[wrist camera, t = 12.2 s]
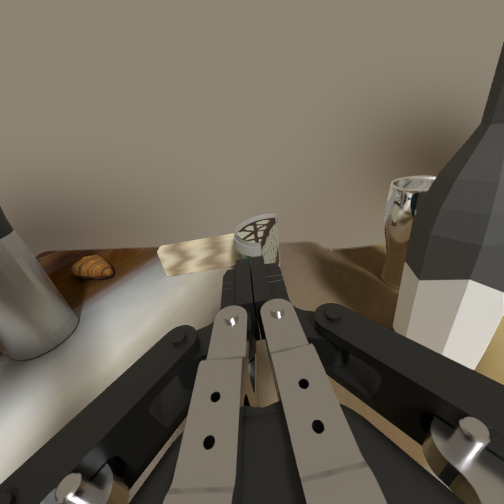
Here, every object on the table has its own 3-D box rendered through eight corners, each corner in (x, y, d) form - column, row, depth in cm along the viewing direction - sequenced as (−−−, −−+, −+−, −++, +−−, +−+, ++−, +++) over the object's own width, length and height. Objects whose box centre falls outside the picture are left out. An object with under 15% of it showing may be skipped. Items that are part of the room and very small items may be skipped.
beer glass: (375, 287, 36) (387, 191, 28) (378, 263, 41) (389, 176, 34) (432, 297, 32) (462, 190, 25) (427, 269, 38) (451, 173, 30)
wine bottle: (474, 331, 27) (646, -60, 12) (488, 396, 21) (836, -184, 7) (393, 312, 31) (450, 3, 17) (387, 362, 26) (465, -40, 11)
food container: (253, 257, 49) (244, 213, 45) (281, 258, 47) (276, 211, 43) (232, 296, 39) (219, 245, 35) (268, 299, 38) (259, 244, 33)
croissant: (126, 269, 55) (116, 251, 52) (100, 287, 49) (88, 268, 47) (91, 263, 60) (81, 247, 58) (64, 279, 55) (52, 261, 53)
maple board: (167, 276, 48) (157, 251, 45) (170, 270, 51) (160, 245, 48) (272, 259, 48) (268, 232, 45) (270, 253, 50) (267, 227, 47)
